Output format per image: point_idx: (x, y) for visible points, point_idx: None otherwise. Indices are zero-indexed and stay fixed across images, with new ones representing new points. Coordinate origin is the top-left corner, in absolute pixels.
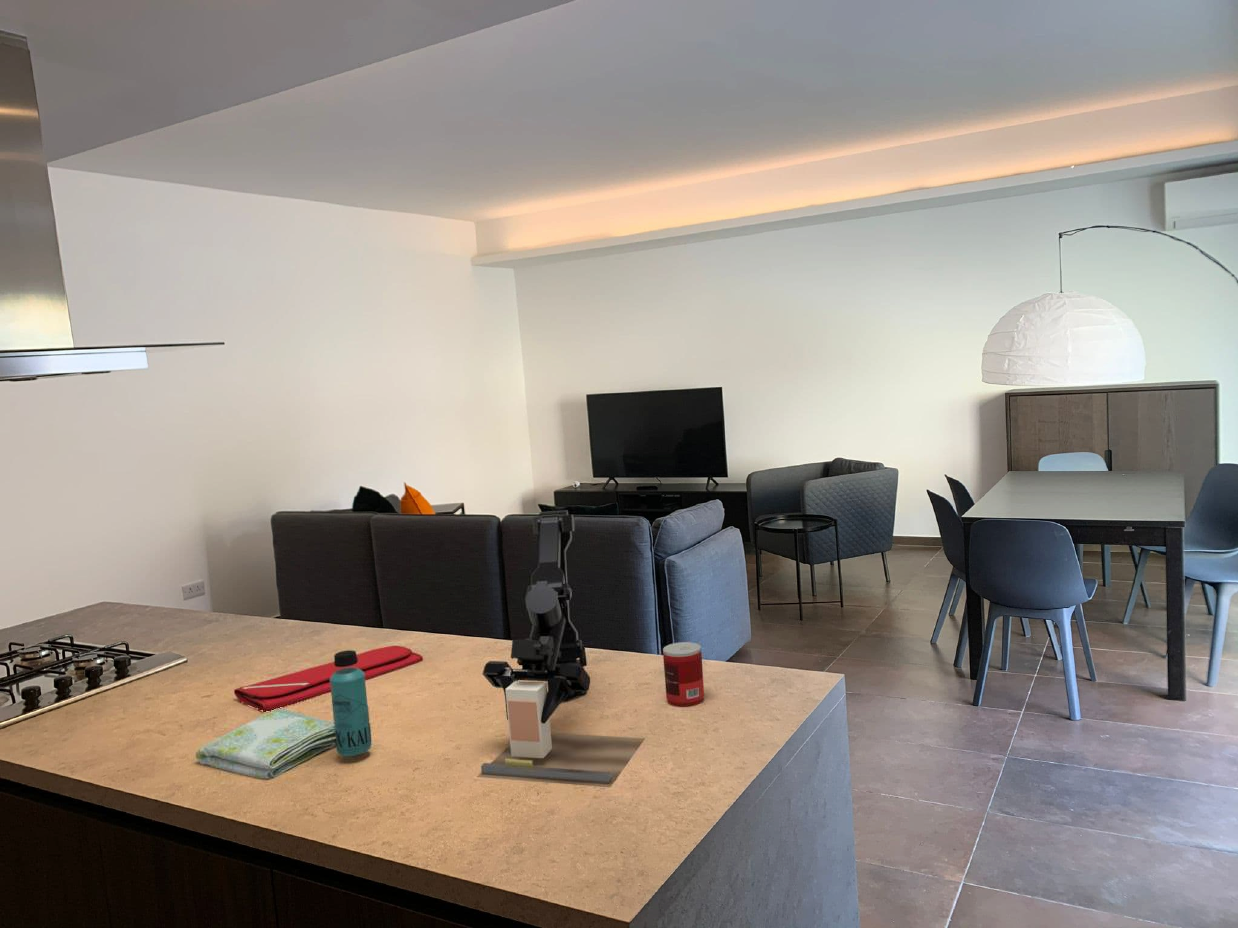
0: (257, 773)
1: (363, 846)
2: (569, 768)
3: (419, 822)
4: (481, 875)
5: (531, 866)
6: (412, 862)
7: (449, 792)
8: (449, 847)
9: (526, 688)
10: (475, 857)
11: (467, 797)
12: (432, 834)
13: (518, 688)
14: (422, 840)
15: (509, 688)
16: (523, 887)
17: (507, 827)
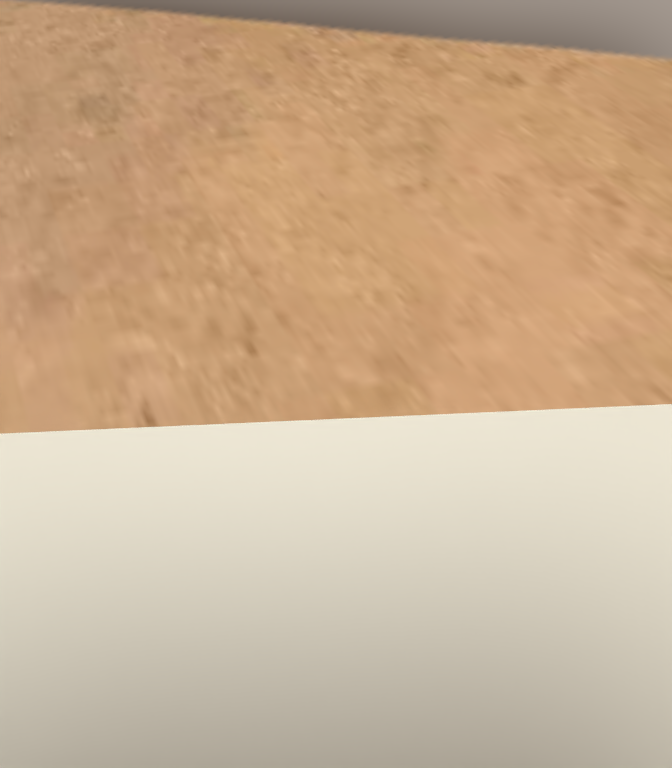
0: None
1: (558, 61)
2: None
3: (502, 166)
4: (157, 26)
5: (33, 64)
6: (369, 36)
7: (566, 349)
8: (311, 90)
9: (155, 548)
10: (209, 70)
11: (456, 328)
12: (408, 126)
13: (393, 509)
14: (415, 101)
15: (635, 463)
16: (32, 12)
17: (179, 189)
